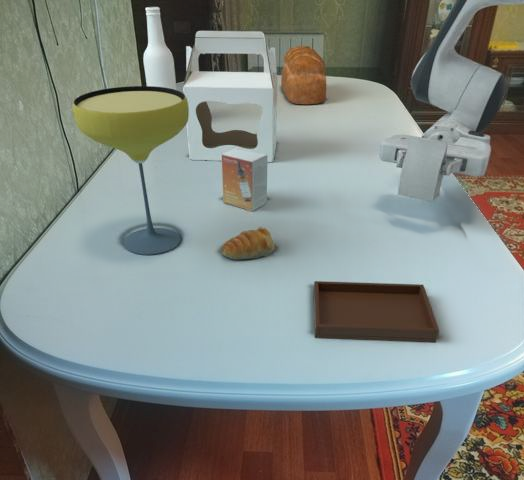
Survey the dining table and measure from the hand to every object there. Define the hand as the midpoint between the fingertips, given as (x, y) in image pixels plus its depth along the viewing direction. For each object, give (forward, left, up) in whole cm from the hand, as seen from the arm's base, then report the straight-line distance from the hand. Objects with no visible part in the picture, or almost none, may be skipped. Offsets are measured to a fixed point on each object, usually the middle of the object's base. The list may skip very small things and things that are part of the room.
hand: (422, 167), depth 92 cm
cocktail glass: (+50, +8, -12) cm, 52 cm away
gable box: (+40, -44, -12) cm, 60 cm away
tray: (+11, +30, -12) cm, 34 cm away
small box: (+34, -11, -12) cm, 38 cm away
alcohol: (+65, -73, -12) cm, 98 cm away
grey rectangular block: (0, -1, -6) cm, 6 cm away
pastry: (+31, +11, -12) cm, 35 cm away
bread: (+22, -109, -12) cm, 112 cm away
